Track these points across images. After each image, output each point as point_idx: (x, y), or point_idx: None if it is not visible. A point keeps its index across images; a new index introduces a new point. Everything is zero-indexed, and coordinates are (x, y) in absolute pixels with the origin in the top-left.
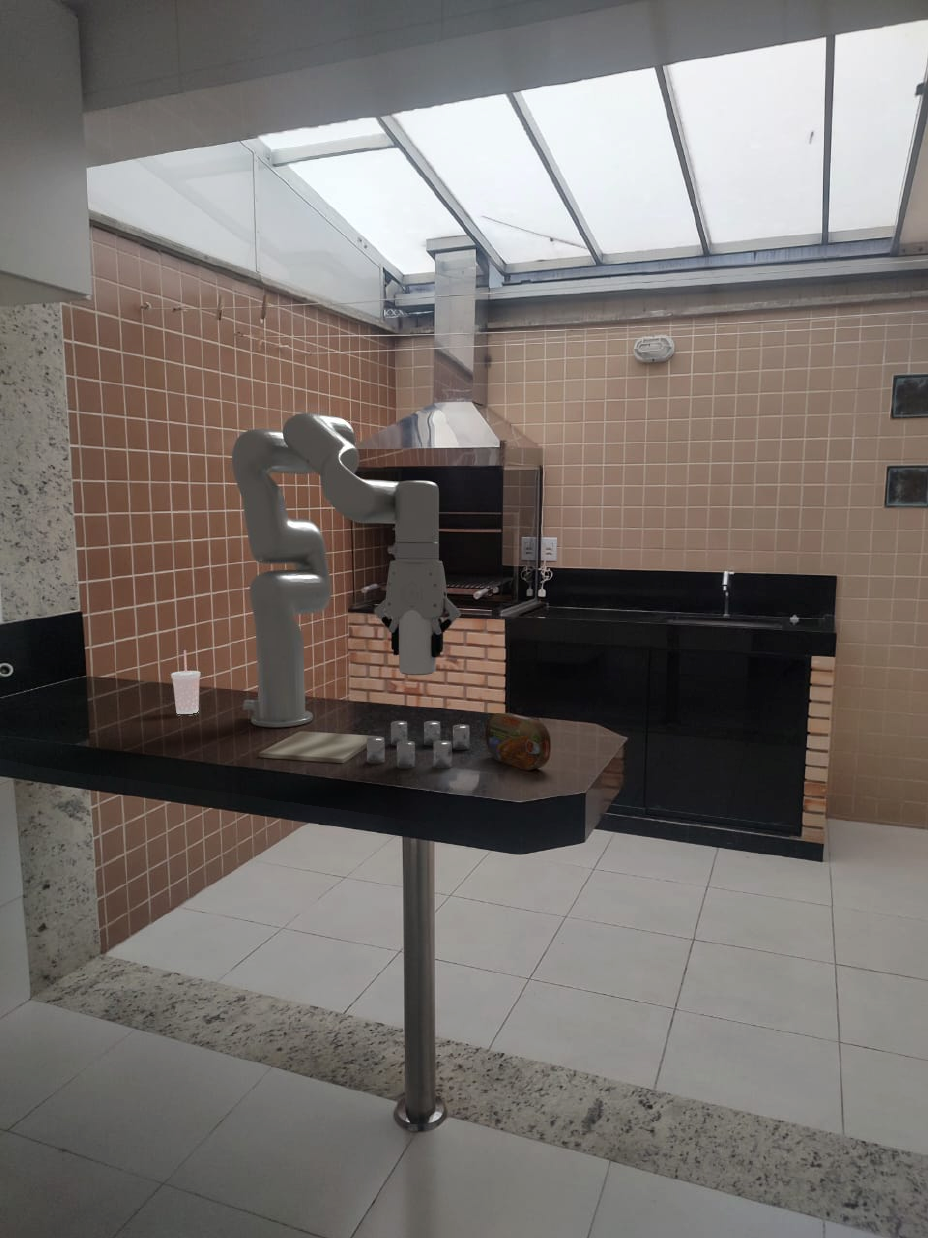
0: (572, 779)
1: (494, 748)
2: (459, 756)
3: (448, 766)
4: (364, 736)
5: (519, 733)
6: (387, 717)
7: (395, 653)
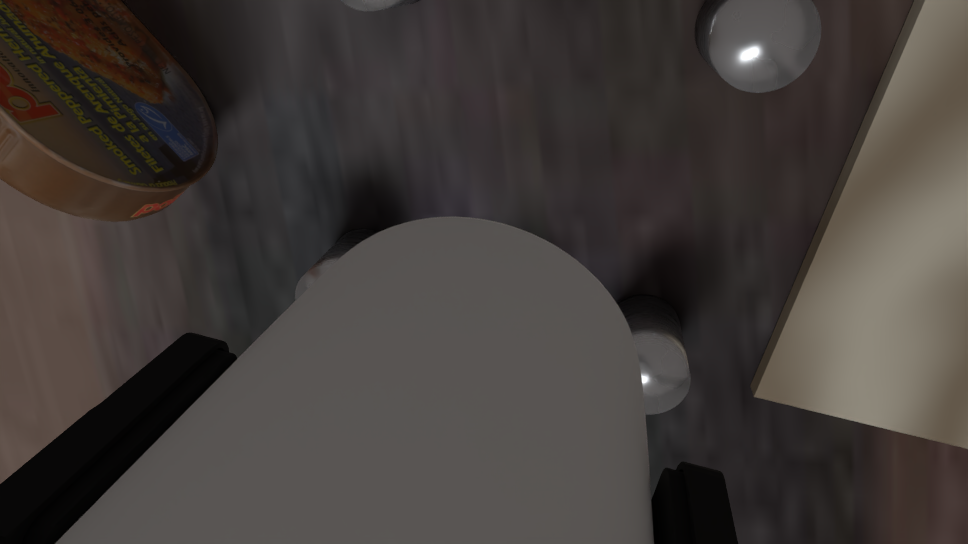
0: None
1: (181, 116)
2: (353, 132)
3: None
4: (816, 392)
5: None
6: None
7: (696, 472)
